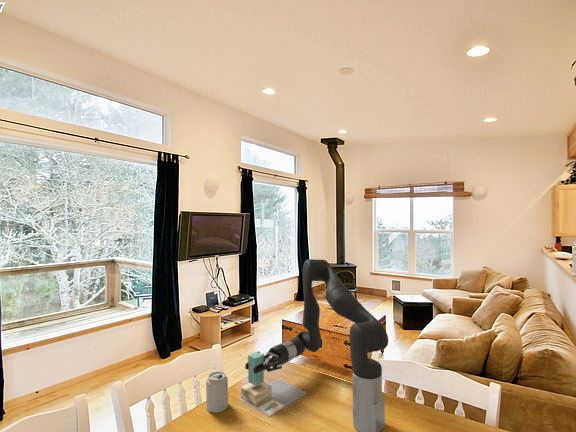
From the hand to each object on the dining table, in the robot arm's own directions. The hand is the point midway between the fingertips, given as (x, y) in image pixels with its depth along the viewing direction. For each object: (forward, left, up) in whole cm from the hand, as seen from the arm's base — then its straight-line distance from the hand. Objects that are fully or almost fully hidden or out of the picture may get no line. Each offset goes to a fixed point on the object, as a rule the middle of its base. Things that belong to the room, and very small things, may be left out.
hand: (250, 368), depth 122 cm
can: (+6, +10, -13) cm, 17 cm away
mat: (-4, -8, -12) cm, 15 cm away
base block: (0, -3, -12) cm, 12 cm away
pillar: (0, -3, -6) cm, 7 cm away
